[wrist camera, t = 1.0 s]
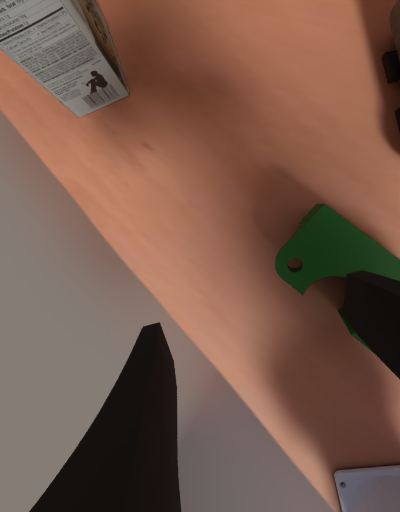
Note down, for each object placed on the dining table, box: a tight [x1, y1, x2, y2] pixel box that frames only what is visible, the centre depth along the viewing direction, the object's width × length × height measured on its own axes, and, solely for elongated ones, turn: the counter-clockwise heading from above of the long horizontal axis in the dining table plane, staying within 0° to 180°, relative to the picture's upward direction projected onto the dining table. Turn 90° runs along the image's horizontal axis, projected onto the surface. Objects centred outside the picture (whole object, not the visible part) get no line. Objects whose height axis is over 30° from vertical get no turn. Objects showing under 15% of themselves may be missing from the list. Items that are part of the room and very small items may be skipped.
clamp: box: [275, 204, 400, 353], centre depth 20 cm, size 12×6×9 cm, turn 44°
